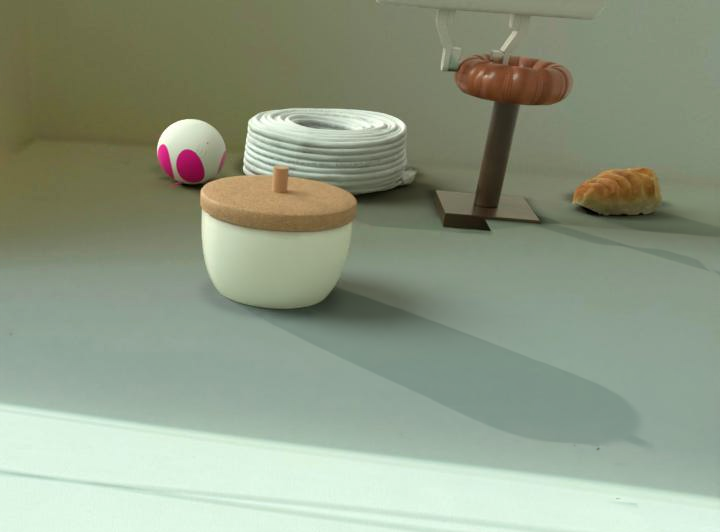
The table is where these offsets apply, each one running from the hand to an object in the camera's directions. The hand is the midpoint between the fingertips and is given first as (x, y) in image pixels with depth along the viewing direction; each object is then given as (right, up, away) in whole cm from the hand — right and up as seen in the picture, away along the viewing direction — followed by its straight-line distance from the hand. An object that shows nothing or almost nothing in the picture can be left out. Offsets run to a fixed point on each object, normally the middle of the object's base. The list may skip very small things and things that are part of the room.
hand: (472, 72), depth 84 cm
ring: (+4, -1, 0) cm, 4 cm away
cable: (-12, -2, +16) cm, 20 cm away
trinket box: (-19, -28, -16) cm, 37 cm away
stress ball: (-27, -5, +11) cm, 29 cm away
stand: (+3, -10, +8) cm, 13 cm away
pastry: (+18, -6, +14) cm, 24 cm away
